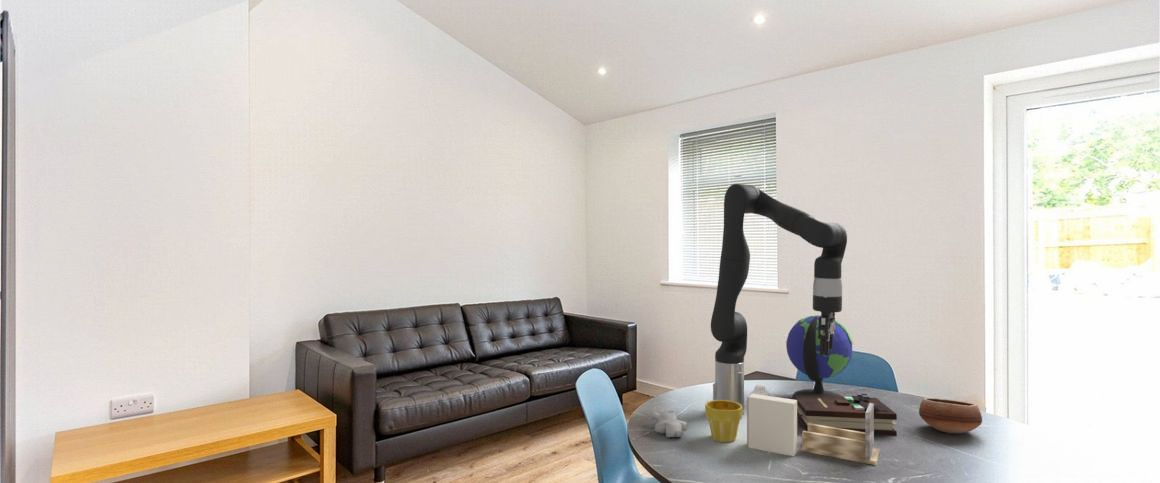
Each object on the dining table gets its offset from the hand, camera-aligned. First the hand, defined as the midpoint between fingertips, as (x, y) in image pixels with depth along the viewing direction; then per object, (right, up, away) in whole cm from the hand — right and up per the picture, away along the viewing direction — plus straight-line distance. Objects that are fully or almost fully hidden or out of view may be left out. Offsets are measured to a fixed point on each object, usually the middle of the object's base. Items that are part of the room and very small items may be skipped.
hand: (826, 351), depth 158 cm
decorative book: (+12, -26, +17) cm, 34 cm away
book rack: (+1, -26, -6) cm, 27 cm away
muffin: (-7, -26, +37) cm, 46 cm away
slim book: (-16, -26, -4) cm, 31 cm away
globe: (+17, -26, +44) cm, 54 cm away
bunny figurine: (-42, -26, +11) cm, 51 cm away
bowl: (+41, -26, +9) cm, 49 cm away
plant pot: (-28, -26, +5) cm, 38 cm away
